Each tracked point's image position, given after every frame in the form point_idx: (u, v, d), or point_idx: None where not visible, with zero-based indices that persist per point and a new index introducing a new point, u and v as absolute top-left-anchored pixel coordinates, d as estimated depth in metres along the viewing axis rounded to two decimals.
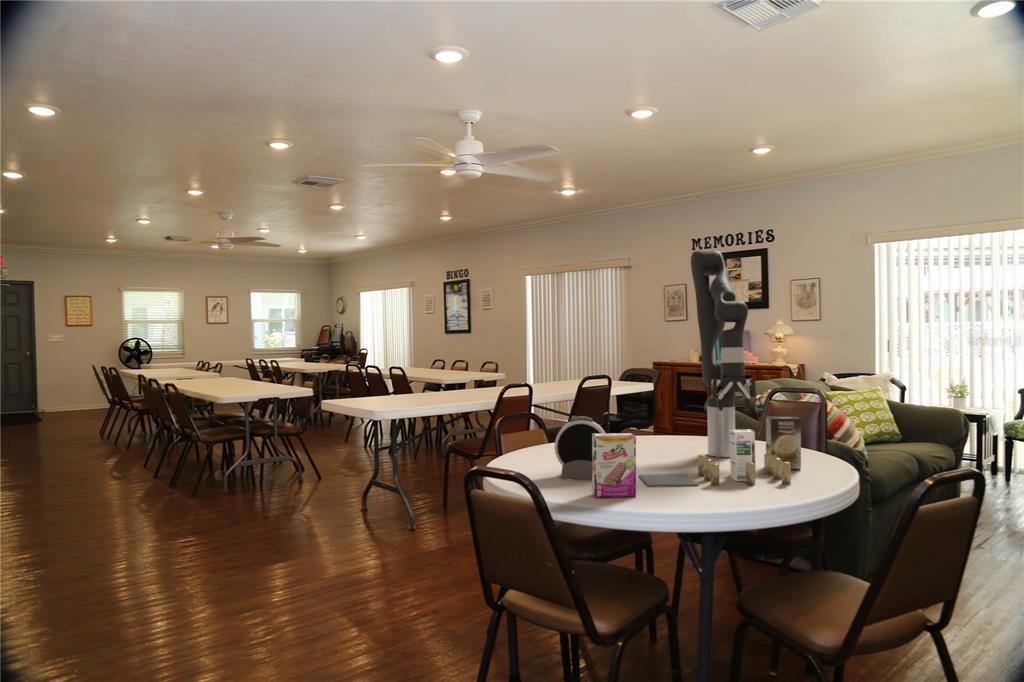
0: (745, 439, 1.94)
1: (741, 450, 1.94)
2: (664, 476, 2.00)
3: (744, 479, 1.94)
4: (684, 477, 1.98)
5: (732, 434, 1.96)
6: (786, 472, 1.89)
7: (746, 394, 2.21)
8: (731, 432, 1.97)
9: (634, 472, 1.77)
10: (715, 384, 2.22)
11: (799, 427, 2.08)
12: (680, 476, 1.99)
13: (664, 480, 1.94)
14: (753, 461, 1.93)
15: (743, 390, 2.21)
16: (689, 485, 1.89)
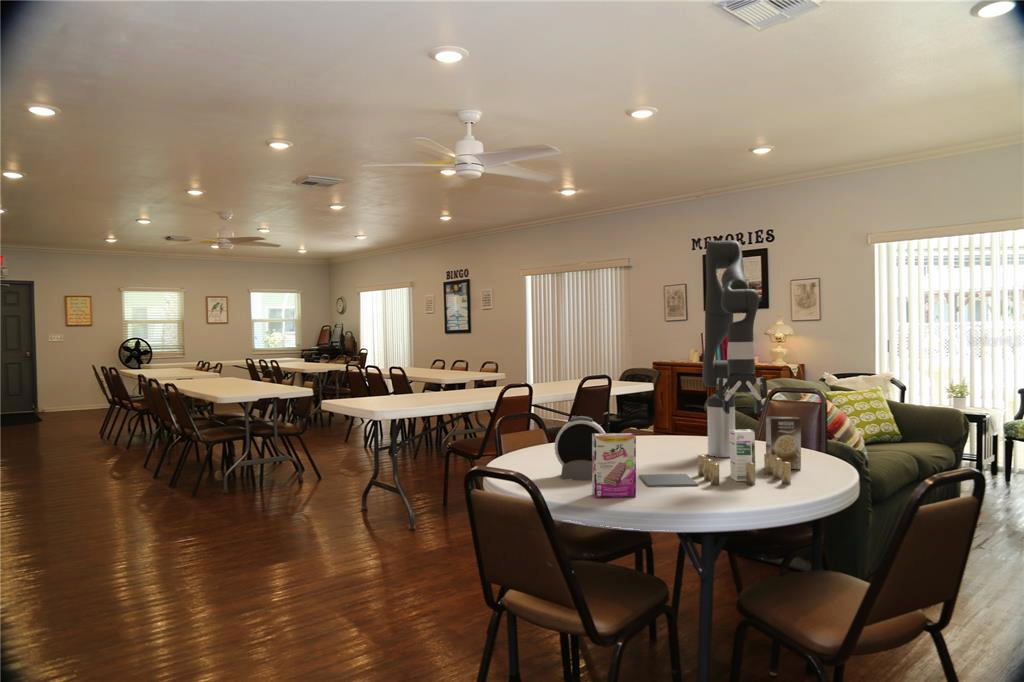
0: (745, 439, 1.94)
1: (741, 450, 1.94)
2: (664, 476, 2.00)
3: (744, 479, 1.94)
4: (684, 477, 1.98)
5: (732, 434, 1.96)
6: (786, 472, 1.89)
7: (756, 395, 1.95)
8: (731, 432, 1.97)
9: (634, 472, 1.77)
10: (721, 383, 1.95)
11: (799, 427, 2.08)
12: (680, 476, 1.99)
13: (664, 480, 1.94)
14: (753, 461, 1.93)
15: (753, 390, 1.95)
16: (689, 485, 1.89)
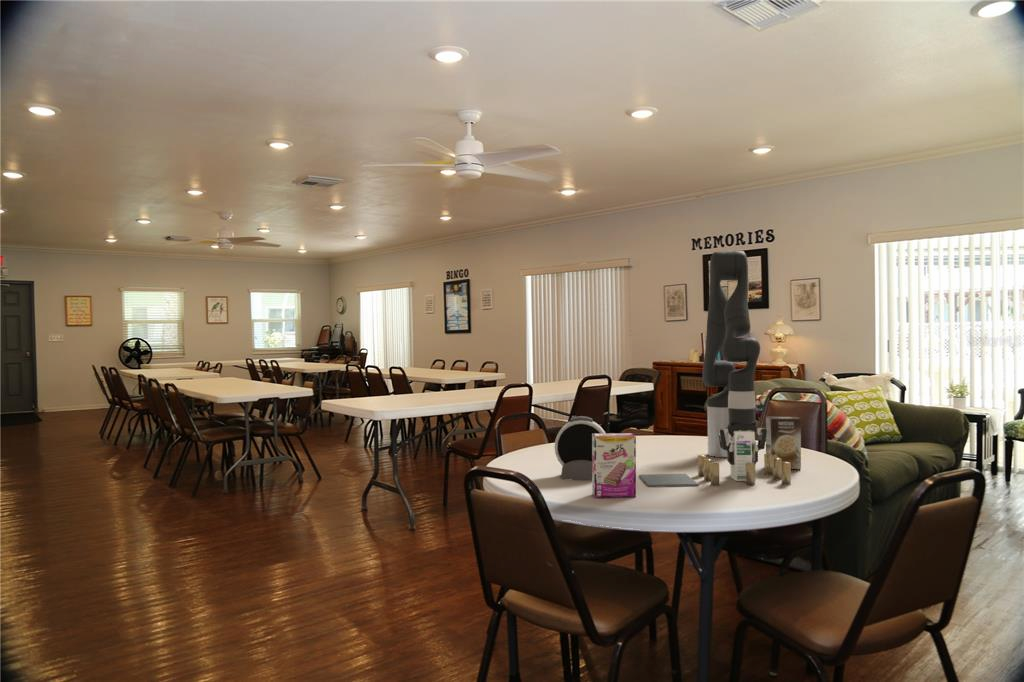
0: (745, 439, 1.94)
1: (741, 450, 1.94)
2: (664, 476, 2.00)
3: (744, 479, 1.94)
4: (684, 477, 1.98)
5: None
6: (786, 472, 1.89)
7: None
8: None
9: (634, 472, 1.77)
10: (723, 435, 1.95)
11: (799, 427, 2.08)
12: (680, 476, 1.99)
13: (664, 480, 1.94)
14: (753, 461, 1.93)
15: None
16: (689, 485, 1.89)
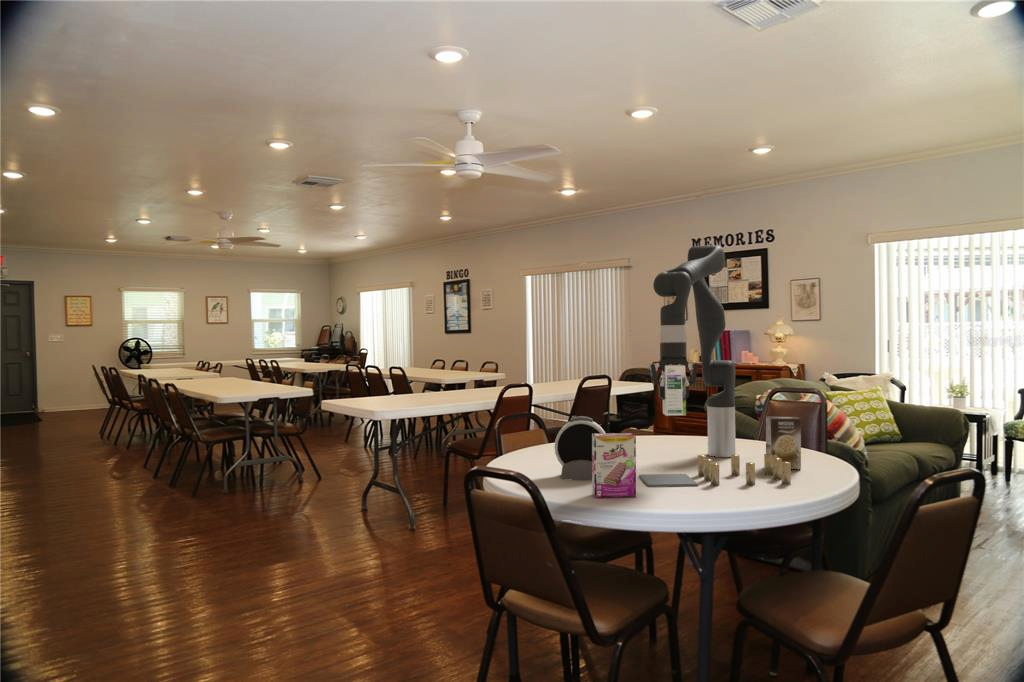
0: (676, 373, 1.93)
1: (672, 384, 1.93)
2: (664, 476, 2.00)
3: (674, 413, 1.93)
4: (684, 477, 1.98)
5: None
6: (786, 472, 1.89)
7: None
8: None
9: (634, 472, 1.77)
10: (654, 369, 1.94)
11: (799, 427, 2.08)
12: (680, 476, 1.99)
13: (664, 480, 1.94)
14: (684, 395, 1.93)
15: None
16: (689, 485, 1.89)
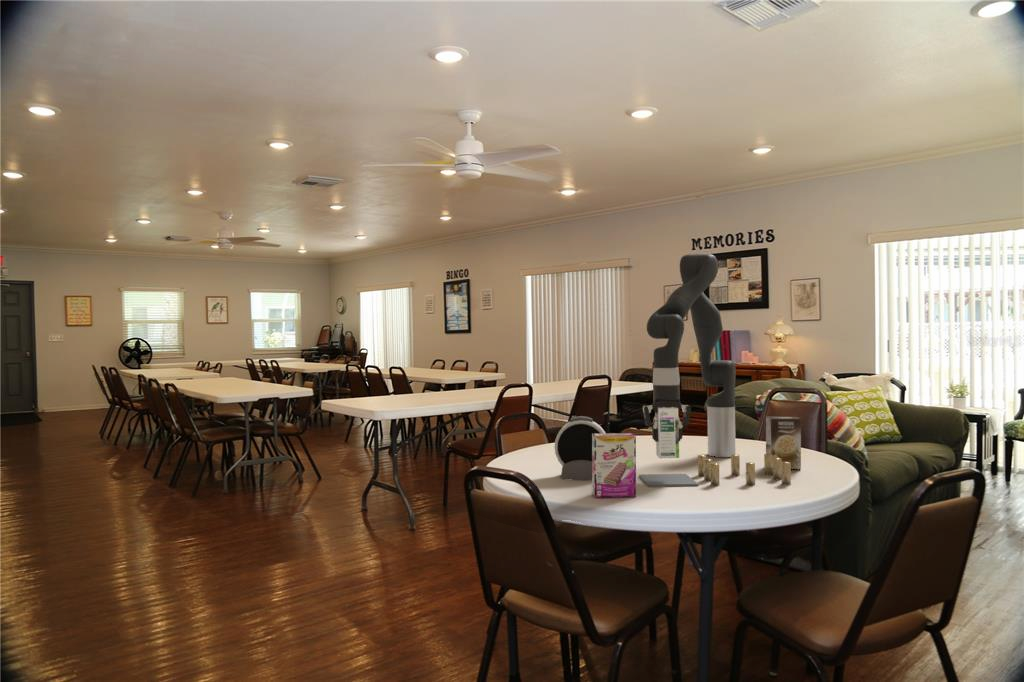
0: (669, 416, 1.93)
1: (665, 427, 1.93)
2: (664, 476, 2.00)
3: (668, 456, 1.93)
4: (684, 477, 1.98)
5: None
6: (786, 472, 1.89)
7: (678, 422, 1.95)
8: None
9: (634, 472, 1.77)
10: (647, 412, 1.95)
11: (799, 427, 2.08)
12: (680, 476, 1.99)
13: (664, 480, 1.94)
14: (677, 438, 1.93)
15: None
16: (689, 485, 1.89)
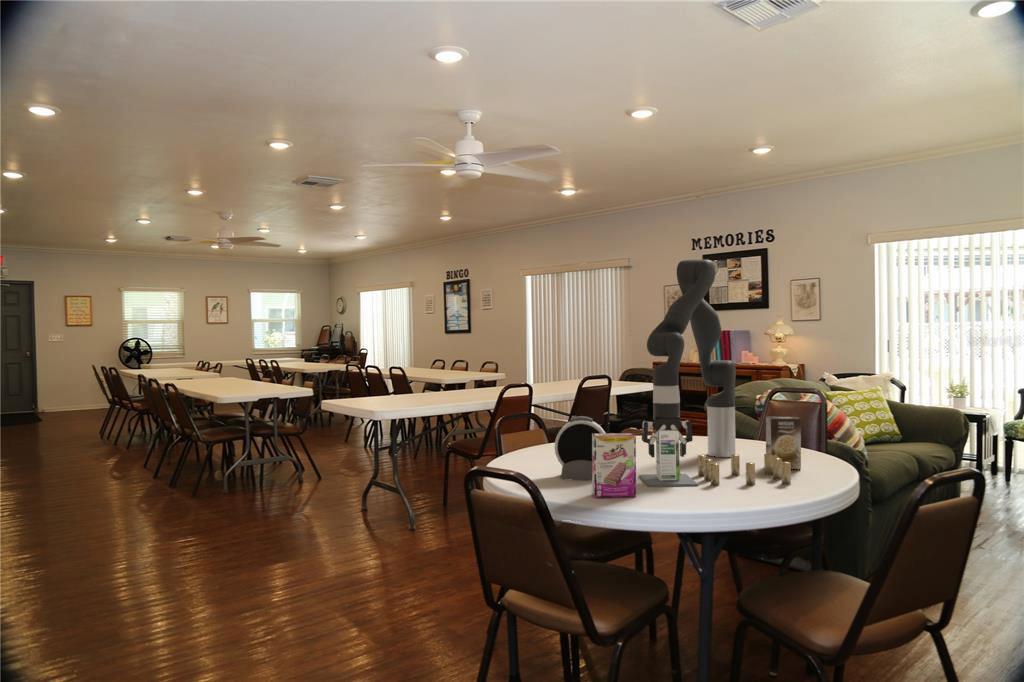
0: (669, 438, 1.93)
1: (665, 449, 1.93)
2: None
3: (668, 478, 1.93)
4: (684, 477, 1.98)
5: None
6: (786, 472, 1.89)
7: (681, 439, 1.95)
8: None
9: (634, 472, 1.77)
10: (646, 427, 1.95)
11: (799, 427, 2.08)
12: (680, 476, 1.99)
13: None
14: (677, 460, 1.93)
15: None
16: (689, 485, 1.89)
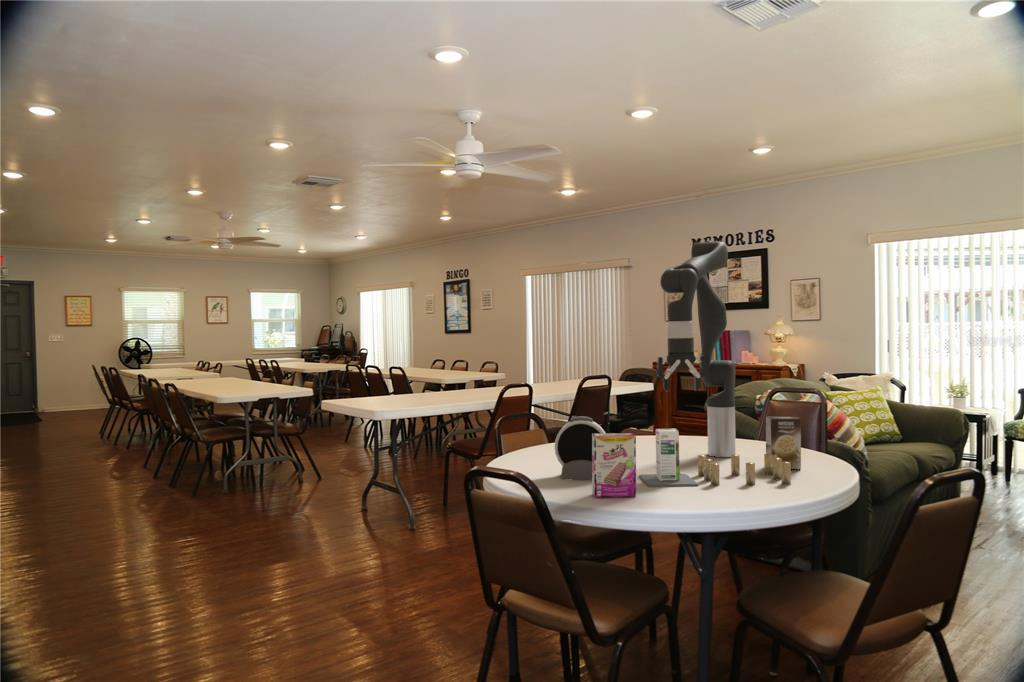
0: (669, 438, 1.93)
1: (665, 449, 1.93)
2: None
3: (668, 478, 1.93)
4: (684, 477, 1.98)
5: (657, 433, 1.96)
6: (786, 472, 1.89)
7: (695, 373, 1.99)
8: (656, 431, 1.97)
9: (634, 472, 1.77)
10: (661, 362, 1.99)
11: (799, 427, 2.08)
12: (680, 476, 1.99)
13: None
14: (677, 460, 1.93)
15: (692, 369, 1.98)
16: (689, 485, 1.89)
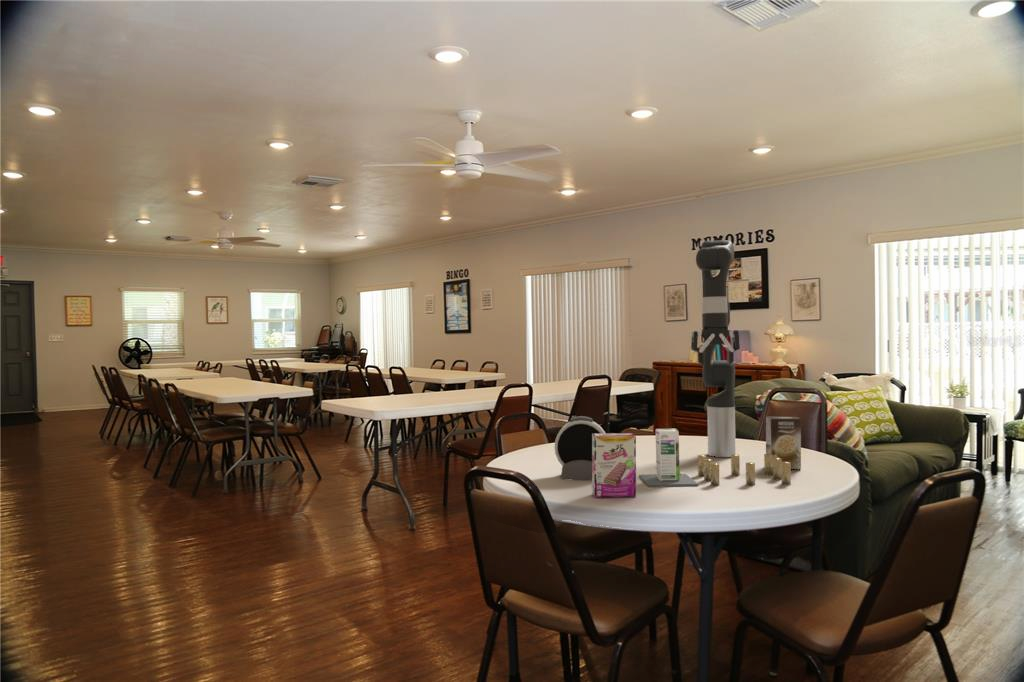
0: (669, 438, 1.93)
1: (665, 449, 1.93)
2: None
3: (668, 478, 1.93)
4: (684, 477, 1.98)
5: (657, 433, 1.96)
6: (786, 472, 1.89)
7: (729, 347, 2.07)
8: (656, 431, 1.97)
9: (634, 472, 1.77)
10: (696, 336, 2.07)
11: (799, 427, 2.08)
12: (680, 476, 1.99)
13: None
14: (677, 460, 1.93)
15: (726, 343, 2.06)
16: (689, 485, 1.89)
